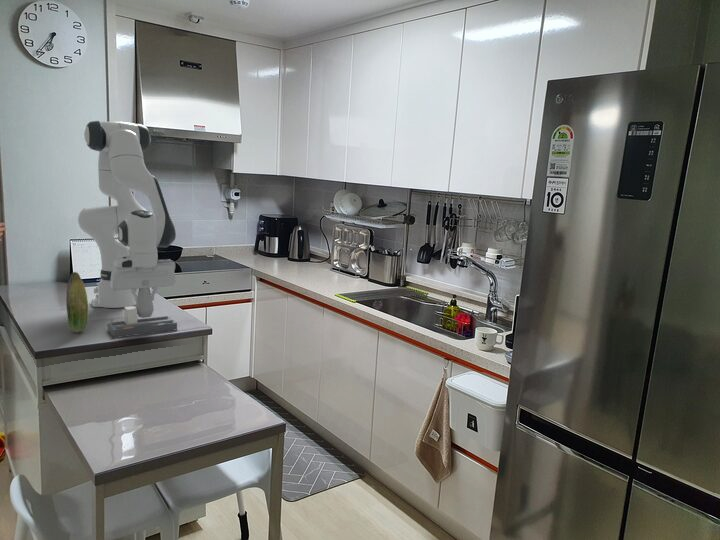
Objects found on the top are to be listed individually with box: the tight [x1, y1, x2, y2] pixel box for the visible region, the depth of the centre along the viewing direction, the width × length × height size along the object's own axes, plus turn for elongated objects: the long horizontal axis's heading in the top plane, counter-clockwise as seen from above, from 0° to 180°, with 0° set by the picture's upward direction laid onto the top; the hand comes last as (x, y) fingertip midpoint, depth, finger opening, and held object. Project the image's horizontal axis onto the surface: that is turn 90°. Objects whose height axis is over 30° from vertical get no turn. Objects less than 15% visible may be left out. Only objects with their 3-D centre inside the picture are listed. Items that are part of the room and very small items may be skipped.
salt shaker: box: [135, 280, 155, 319], centre depth 179 cm, size 6×6×13 cm
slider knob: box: [123, 305, 138, 325], centre depth 178 cm, size 4×3×5 cm
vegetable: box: [65, 271, 89, 334], centre depth 173 cm, size 6×6×20 cm
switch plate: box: [107, 315, 178, 338], centre depth 180 cm, size 9×20×3 cm, turn 126°
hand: (144, 300), depth 180 cm, fingers closed on salt shaker, 3 cm apart
